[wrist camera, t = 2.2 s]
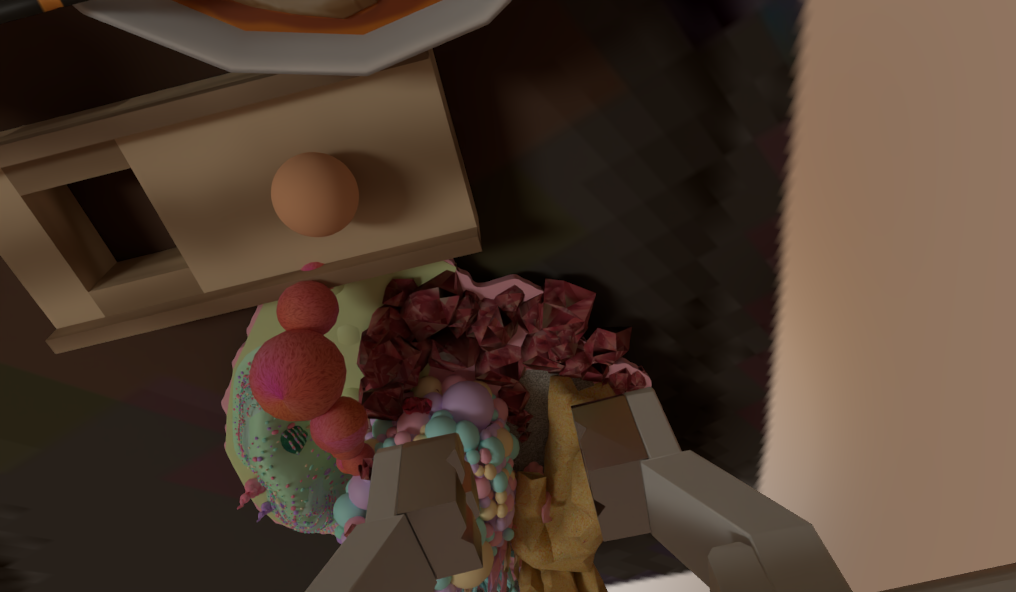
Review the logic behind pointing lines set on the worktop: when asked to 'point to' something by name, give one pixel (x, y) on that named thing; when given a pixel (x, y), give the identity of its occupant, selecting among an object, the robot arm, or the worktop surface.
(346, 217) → the ball
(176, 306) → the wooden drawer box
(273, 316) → the pastel sphere sculpture
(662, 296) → the worktop surface
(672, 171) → the worktop surface
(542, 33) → the worktop surface
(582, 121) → the worktop surface
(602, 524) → the robot arm
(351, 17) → the ramen bowl
